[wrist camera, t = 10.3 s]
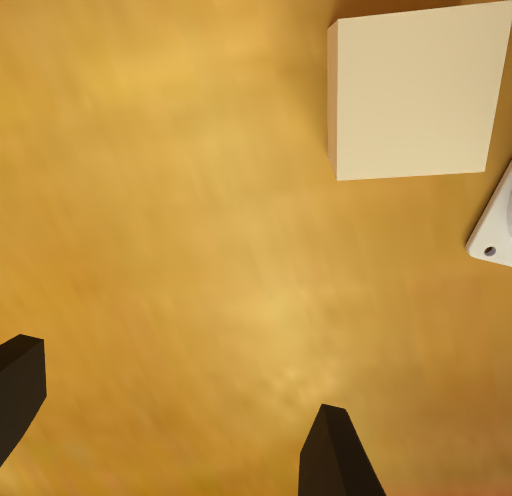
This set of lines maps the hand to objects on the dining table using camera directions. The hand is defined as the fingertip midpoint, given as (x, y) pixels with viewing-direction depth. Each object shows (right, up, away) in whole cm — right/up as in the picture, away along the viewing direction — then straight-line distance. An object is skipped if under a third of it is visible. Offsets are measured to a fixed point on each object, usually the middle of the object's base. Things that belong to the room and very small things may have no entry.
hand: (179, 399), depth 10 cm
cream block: (+7, +10, +6) cm, 14 cm away
